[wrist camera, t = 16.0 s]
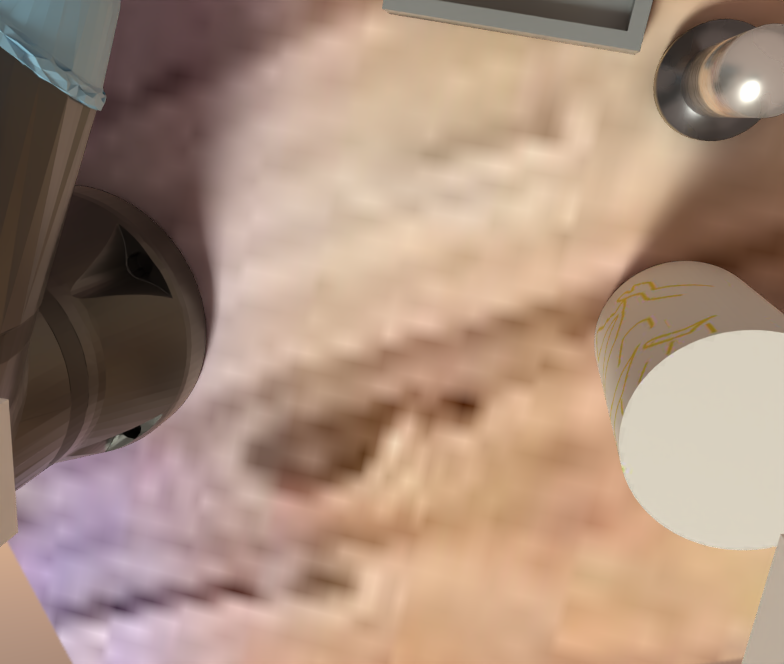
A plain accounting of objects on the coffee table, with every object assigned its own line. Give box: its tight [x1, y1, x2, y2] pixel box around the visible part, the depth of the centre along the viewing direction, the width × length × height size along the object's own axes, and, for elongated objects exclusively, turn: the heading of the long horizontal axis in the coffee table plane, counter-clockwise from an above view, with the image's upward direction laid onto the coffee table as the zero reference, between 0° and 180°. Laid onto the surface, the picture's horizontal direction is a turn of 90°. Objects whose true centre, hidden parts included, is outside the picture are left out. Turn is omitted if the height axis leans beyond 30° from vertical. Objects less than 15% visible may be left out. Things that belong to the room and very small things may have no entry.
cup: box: [594, 261, 784, 550], centre depth 30 cm, size 8×8×12 cm
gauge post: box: [653, 19, 784, 141], centre depth 29 cm, size 5×5×8 cm
